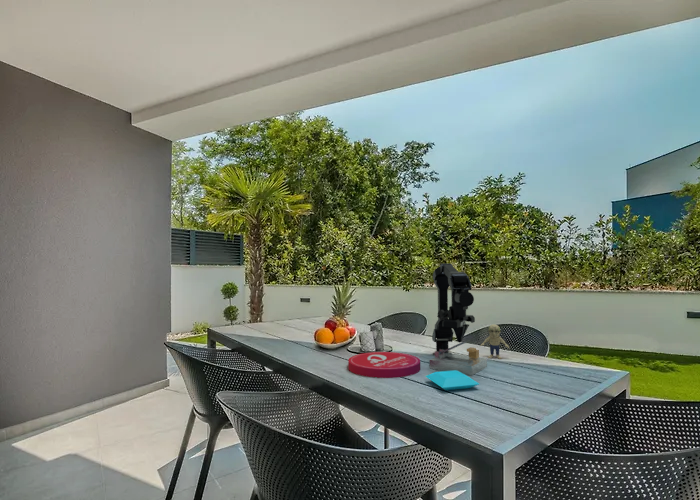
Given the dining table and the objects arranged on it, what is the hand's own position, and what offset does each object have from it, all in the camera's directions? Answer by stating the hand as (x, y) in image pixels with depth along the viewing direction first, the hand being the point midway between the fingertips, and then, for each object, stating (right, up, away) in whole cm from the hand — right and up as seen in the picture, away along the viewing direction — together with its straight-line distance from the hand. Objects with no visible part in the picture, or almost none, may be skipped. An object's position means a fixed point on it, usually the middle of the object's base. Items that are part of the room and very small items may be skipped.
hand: (459, 342), depth 166 cm
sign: (-30, -12, +5) cm, 33 cm away
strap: (-3, -3, +2) cm, 5 cm away
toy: (+21, -12, +20) cm, 31 cm away
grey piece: (0, -11, +3) cm, 12 cm away
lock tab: (+6, -7, +4) cm, 10 cm away
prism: (-8, -11, -20) cm, 25 cm away
